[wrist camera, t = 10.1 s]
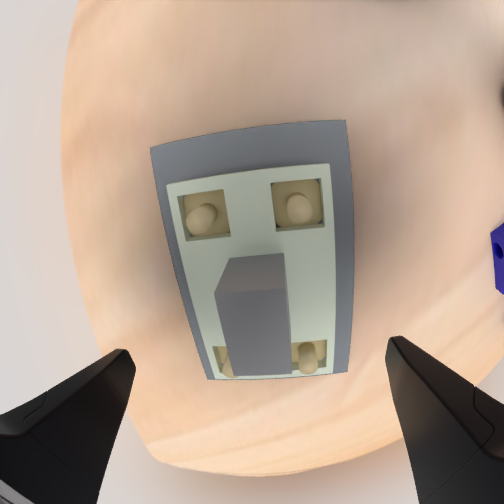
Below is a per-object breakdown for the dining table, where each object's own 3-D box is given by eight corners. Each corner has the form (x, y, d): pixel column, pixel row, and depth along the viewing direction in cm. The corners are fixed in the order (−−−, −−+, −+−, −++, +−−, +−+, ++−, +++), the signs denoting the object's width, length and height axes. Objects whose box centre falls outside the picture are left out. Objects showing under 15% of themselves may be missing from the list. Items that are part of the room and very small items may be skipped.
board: (326, 163, 14) (349, 169, 9) (331, 365, 18) (340, 416, 14) (171, 183, 15) (130, 199, 10) (217, 371, 20) (204, 420, 15)
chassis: (341, 121, 15) (362, 112, 11) (345, 364, 21) (354, 402, 17) (156, 147, 17) (121, 149, 12) (209, 371, 23) (198, 409, 19)
